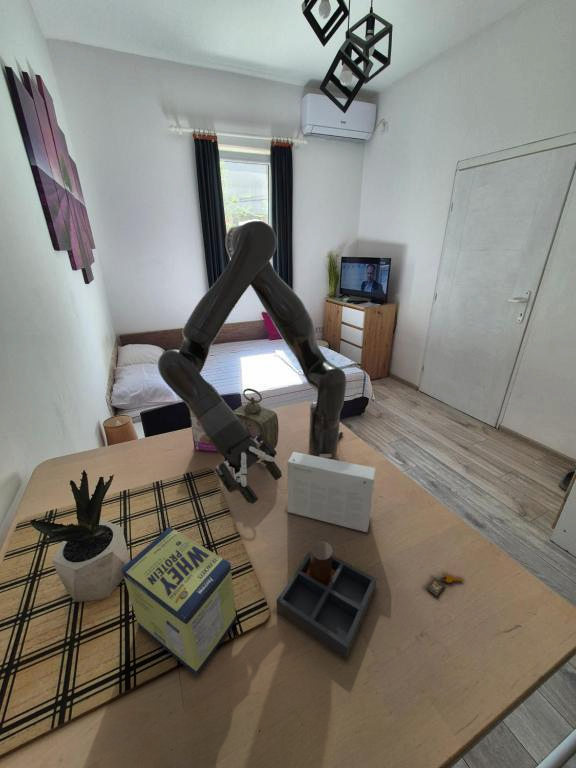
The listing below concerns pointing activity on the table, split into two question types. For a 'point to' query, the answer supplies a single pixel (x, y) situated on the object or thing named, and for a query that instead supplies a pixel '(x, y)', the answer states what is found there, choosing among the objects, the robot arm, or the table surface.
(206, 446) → the candy bar box
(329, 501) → the skincare box
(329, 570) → the brown cylinder
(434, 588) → the key tag
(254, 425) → the tabletop clock
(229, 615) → the protein box
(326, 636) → the grid
